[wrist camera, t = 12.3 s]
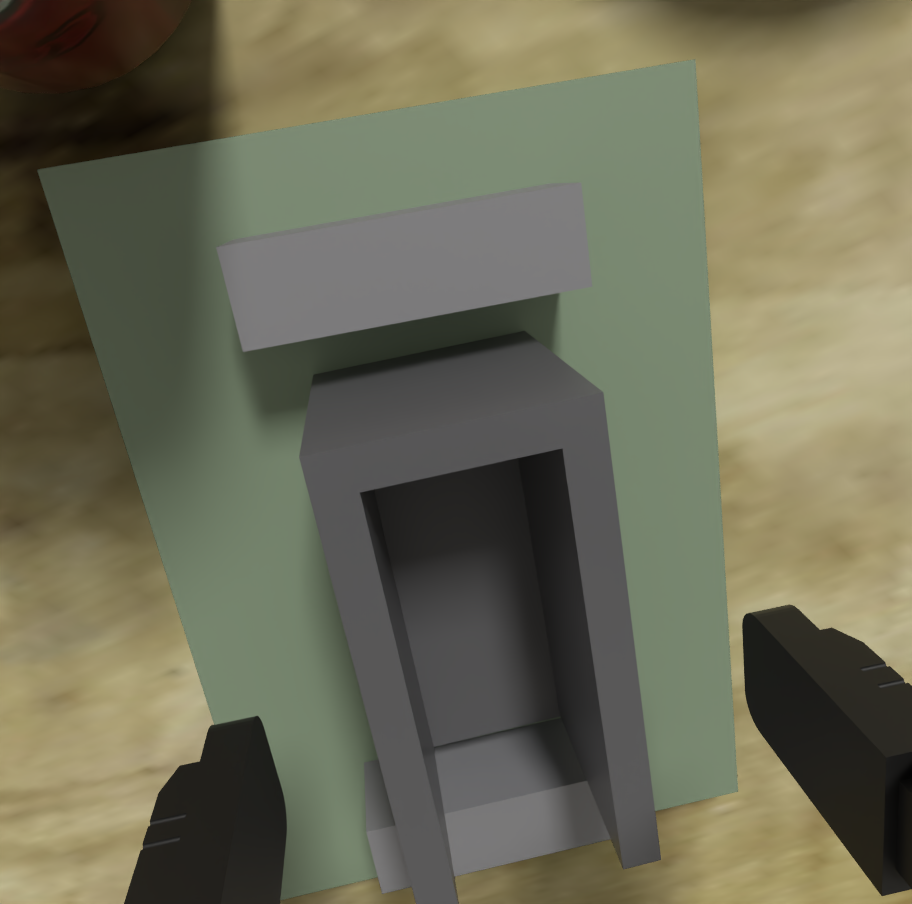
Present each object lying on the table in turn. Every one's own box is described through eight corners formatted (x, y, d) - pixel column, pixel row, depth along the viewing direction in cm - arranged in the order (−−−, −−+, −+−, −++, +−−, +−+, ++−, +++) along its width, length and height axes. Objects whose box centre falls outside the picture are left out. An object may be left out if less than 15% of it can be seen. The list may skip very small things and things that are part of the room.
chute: (313, 374, 18) (299, 457, 13) (524, 331, 19) (603, 392, 13) (401, 729, 22) (420, 921, 16) (579, 686, 22) (661, 860, 16)
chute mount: (57, 171, 17) (-16, 166, 14) (673, 67, 18) (750, 38, 15) (274, 869, 24) (262, 984, 20) (720, 764, 25) (781, 857, 21)
